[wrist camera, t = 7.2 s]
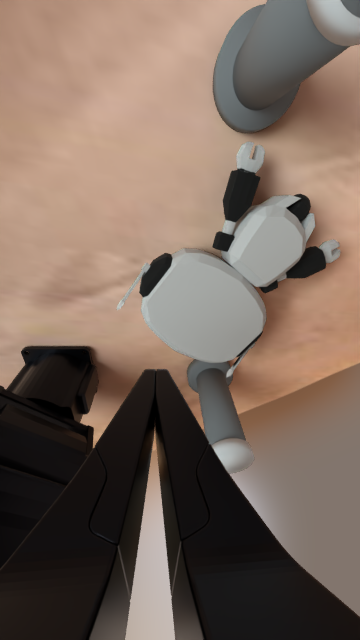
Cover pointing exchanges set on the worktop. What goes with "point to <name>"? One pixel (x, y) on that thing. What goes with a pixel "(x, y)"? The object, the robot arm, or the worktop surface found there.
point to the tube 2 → (278, 56)
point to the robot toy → (231, 271)
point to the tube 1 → (220, 414)
